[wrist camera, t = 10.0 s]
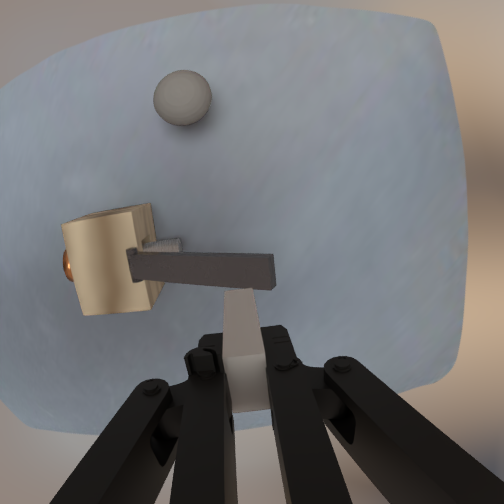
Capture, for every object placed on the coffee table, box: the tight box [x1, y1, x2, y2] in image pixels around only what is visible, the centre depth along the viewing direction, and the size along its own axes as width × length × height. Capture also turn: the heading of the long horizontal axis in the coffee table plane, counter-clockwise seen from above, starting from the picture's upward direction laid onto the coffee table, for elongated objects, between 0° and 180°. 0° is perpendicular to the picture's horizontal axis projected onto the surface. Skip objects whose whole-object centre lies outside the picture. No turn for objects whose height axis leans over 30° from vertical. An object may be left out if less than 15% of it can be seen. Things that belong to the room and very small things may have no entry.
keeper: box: [126, 247, 276, 290], centre depth 26 cm, size 15×3×1 cm
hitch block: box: [61, 203, 165, 316], centre depth 33 cm, size 8×10×8 cm
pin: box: [63, 238, 182, 282], centre depth 33 cm, size 13×4×4 cm, turn 96°
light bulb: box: [153, 70, 212, 126], centre depth 29 cm, size 5×5×10 cm
